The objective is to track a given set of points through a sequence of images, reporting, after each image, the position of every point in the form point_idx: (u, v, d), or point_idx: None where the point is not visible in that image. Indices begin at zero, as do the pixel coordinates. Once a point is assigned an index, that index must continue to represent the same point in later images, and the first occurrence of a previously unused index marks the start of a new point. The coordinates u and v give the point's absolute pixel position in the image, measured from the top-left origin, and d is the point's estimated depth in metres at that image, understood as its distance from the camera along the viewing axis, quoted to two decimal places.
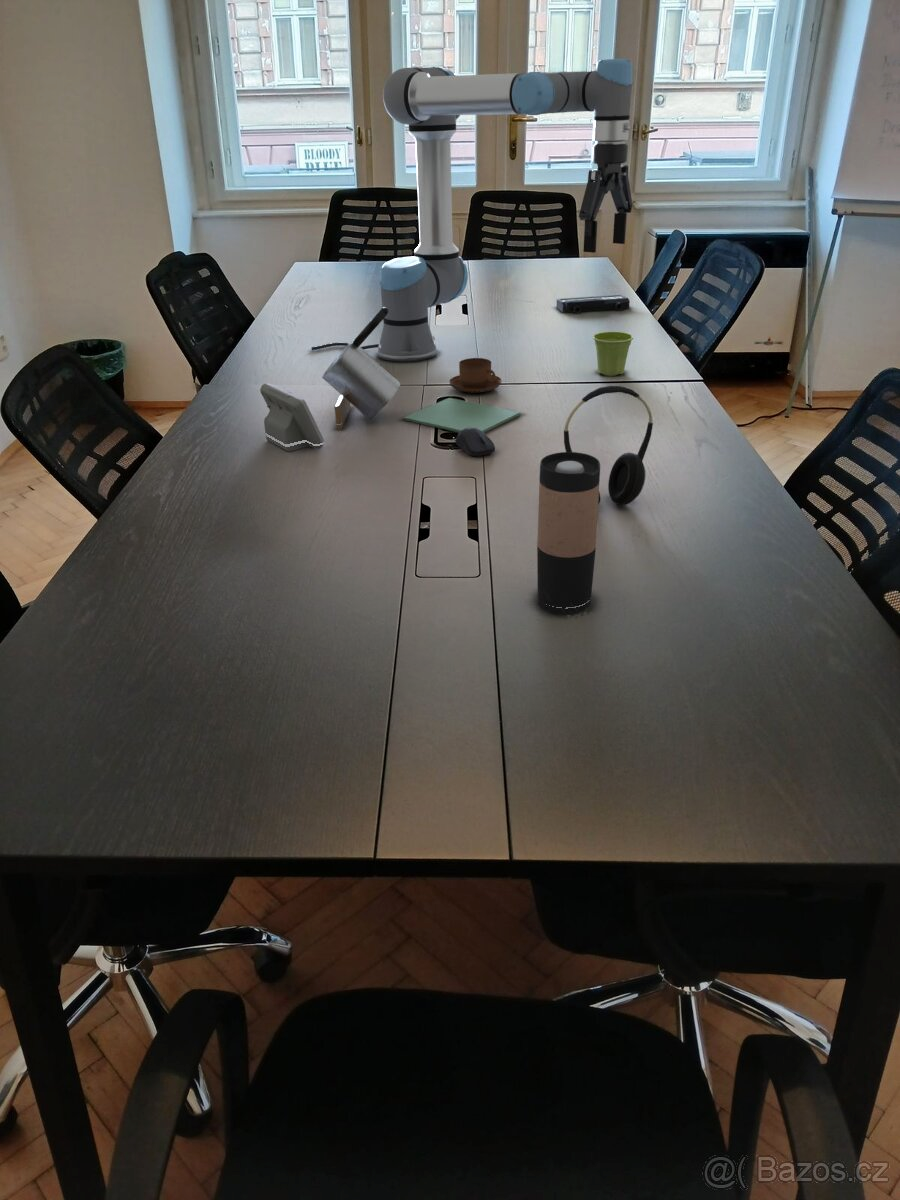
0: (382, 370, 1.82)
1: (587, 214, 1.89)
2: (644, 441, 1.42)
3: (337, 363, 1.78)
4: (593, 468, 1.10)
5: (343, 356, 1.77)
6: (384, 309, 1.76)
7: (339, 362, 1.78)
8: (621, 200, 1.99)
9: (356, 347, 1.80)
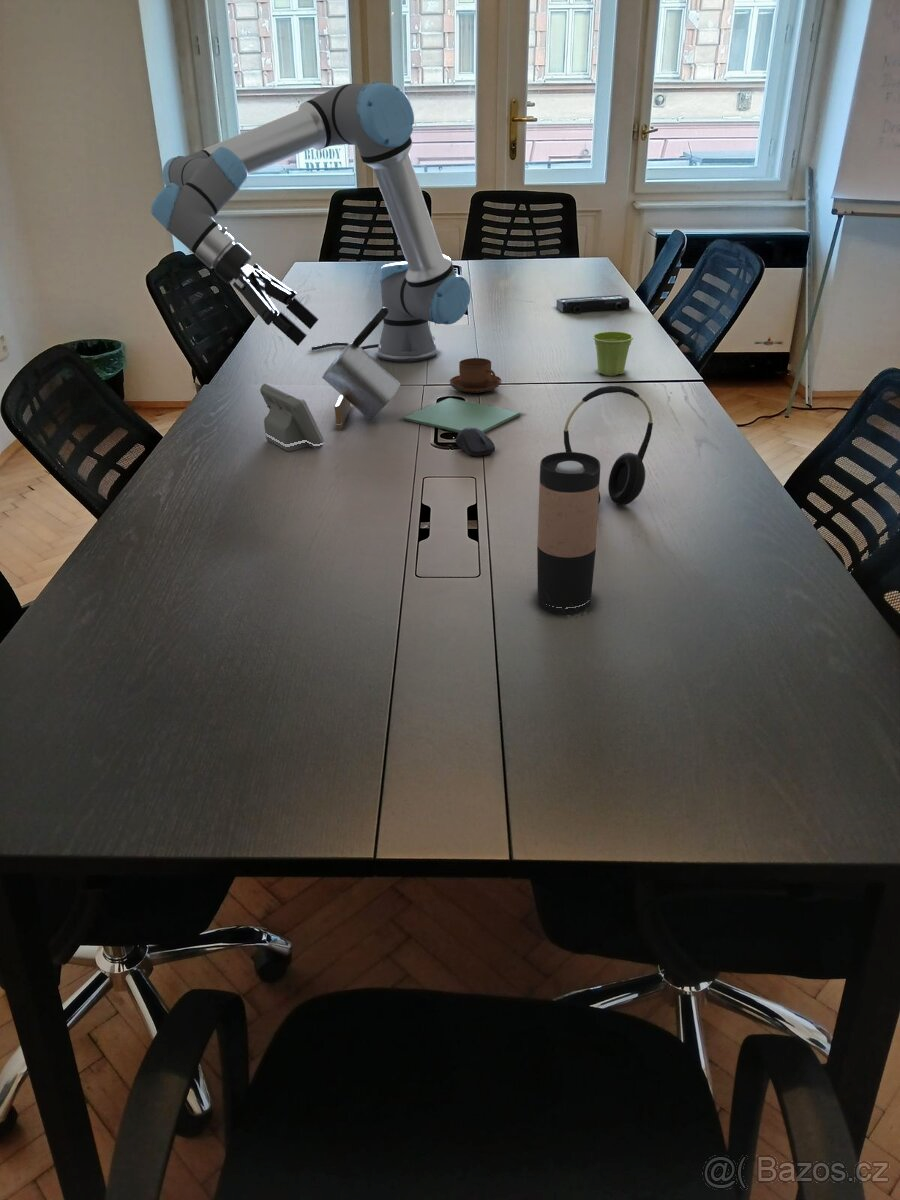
0: (382, 370, 1.82)
1: (269, 311, 1.68)
2: (644, 441, 1.42)
3: (337, 363, 1.78)
4: (593, 468, 1.10)
5: (343, 356, 1.77)
6: (384, 309, 1.76)
7: (339, 362, 1.78)
8: (280, 290, 1.81)
9: (356, 347, 1.80)
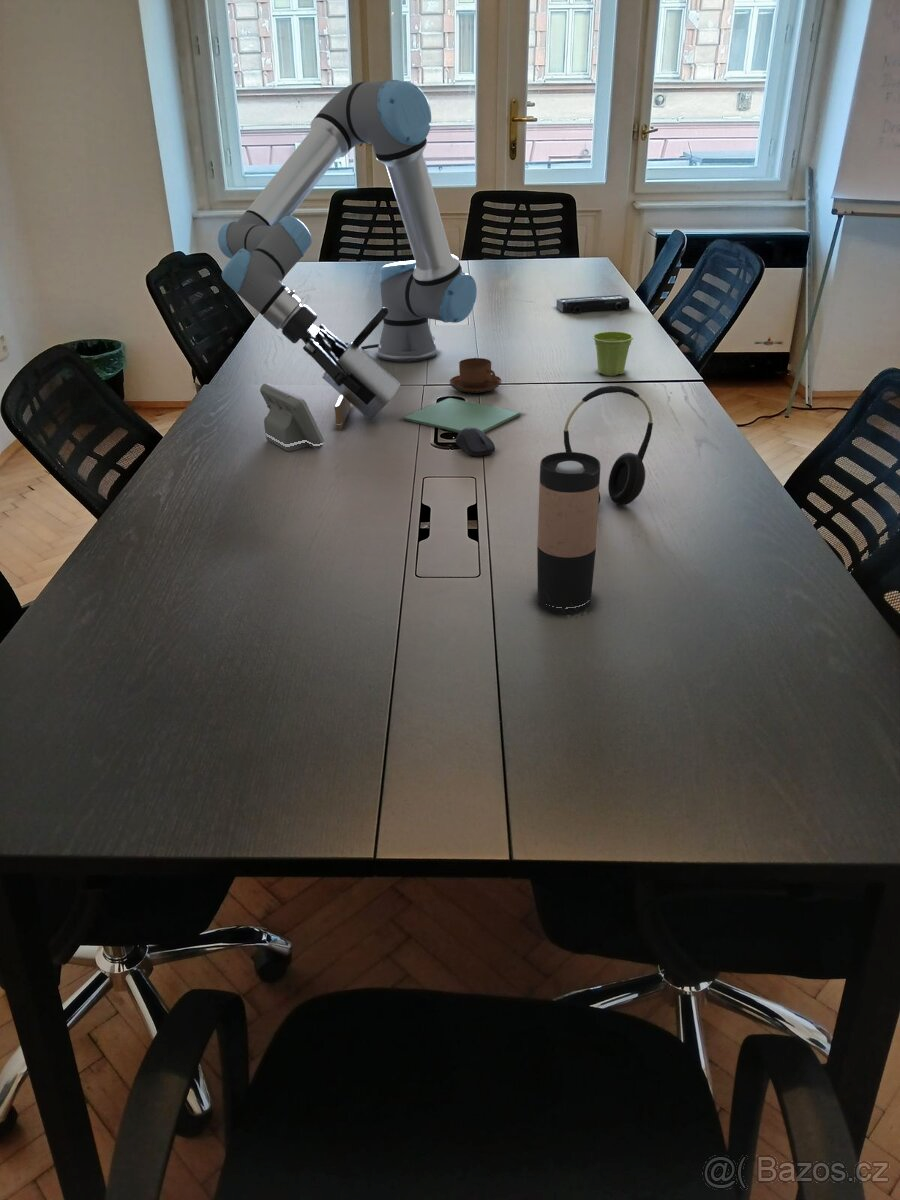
0: (382, 370, 1.82)
1: (341, 374, 1.75)
2: (644, 441, 1.42)
3: None
4: (593, 468, 1.10)
5: (343, 356, 1.77)
6: (384, 309, 1.76)
7: None
8: None
9: (356, 347, 1.80)
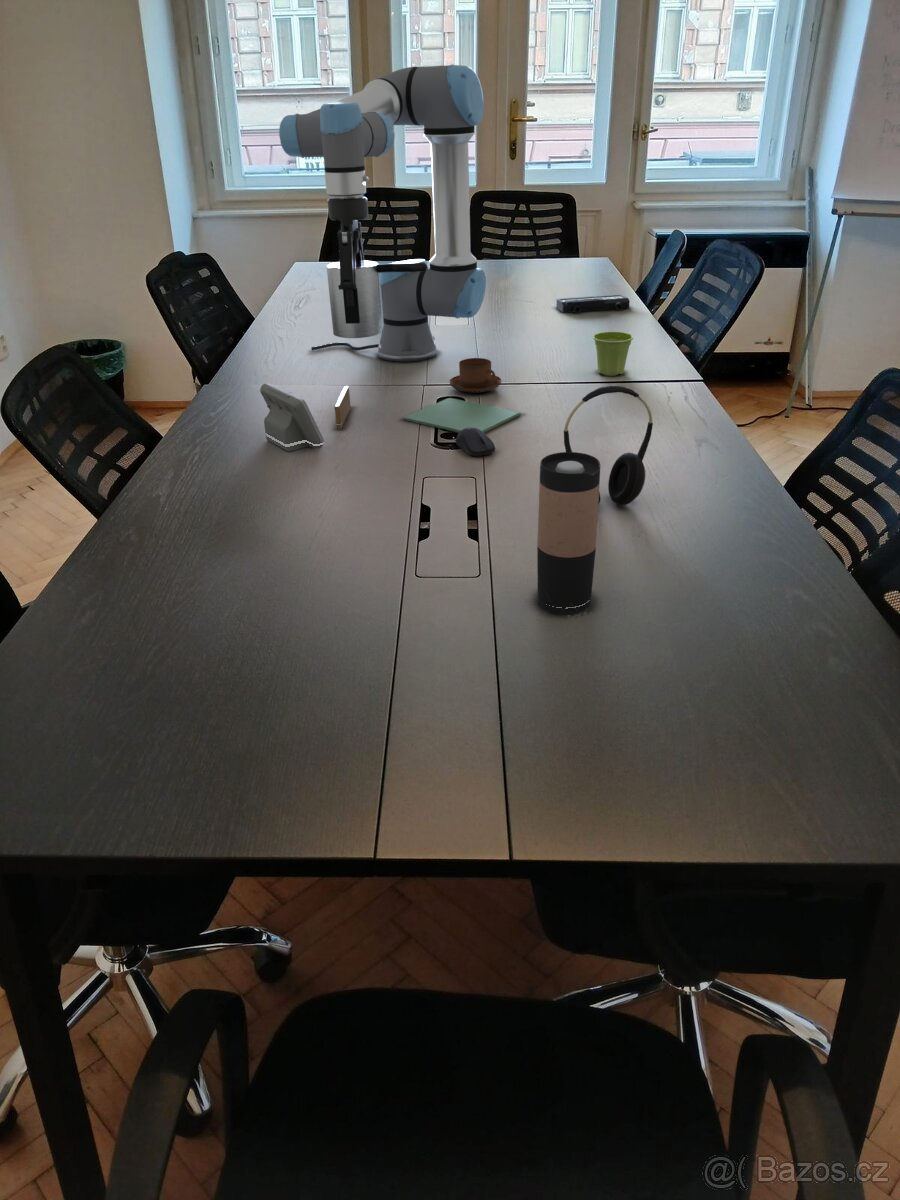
0: (379, 308, 1.76)
1: (351, 283, 1.66)
2: (644, 441, 1.42)
3: None
4: (593, 468, 1.10)
5: (362, 270, 1.69)
6: (425, 266, 1.72)
7: (355, 271, 1.69)
8: None
9: (376, 272, 1.72)
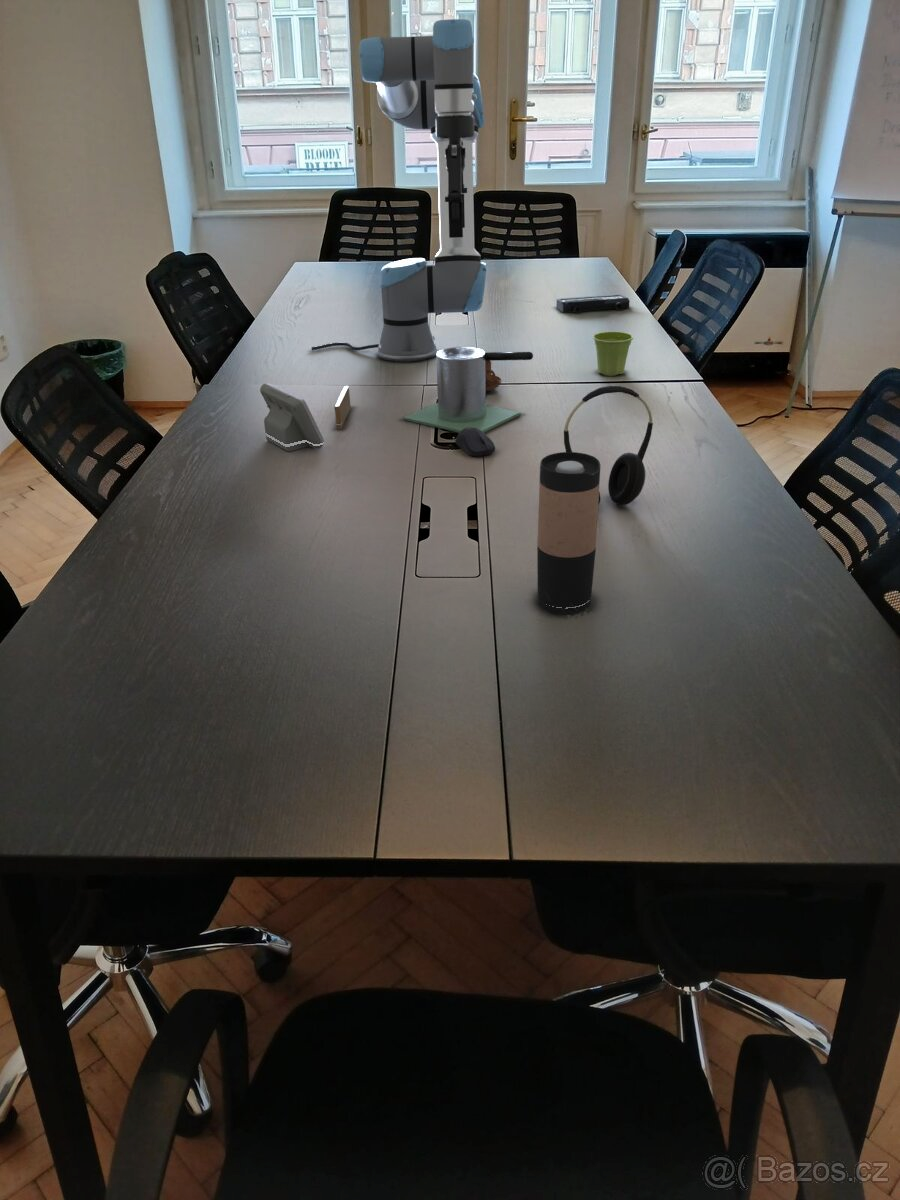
0: (484, 393, 1.83)
1: (458, 194, 1.69)
2: (644, 441, 1.42)
3: (464, 360, 1.76)
4: (593, 468, 1.10)
5: (472, 359, 1.76)
6: (531, 355, 1.79)
7: (466, 361, 1.76)
8: (461, 179, 1.81)
9: (484, 360, 1.79)
